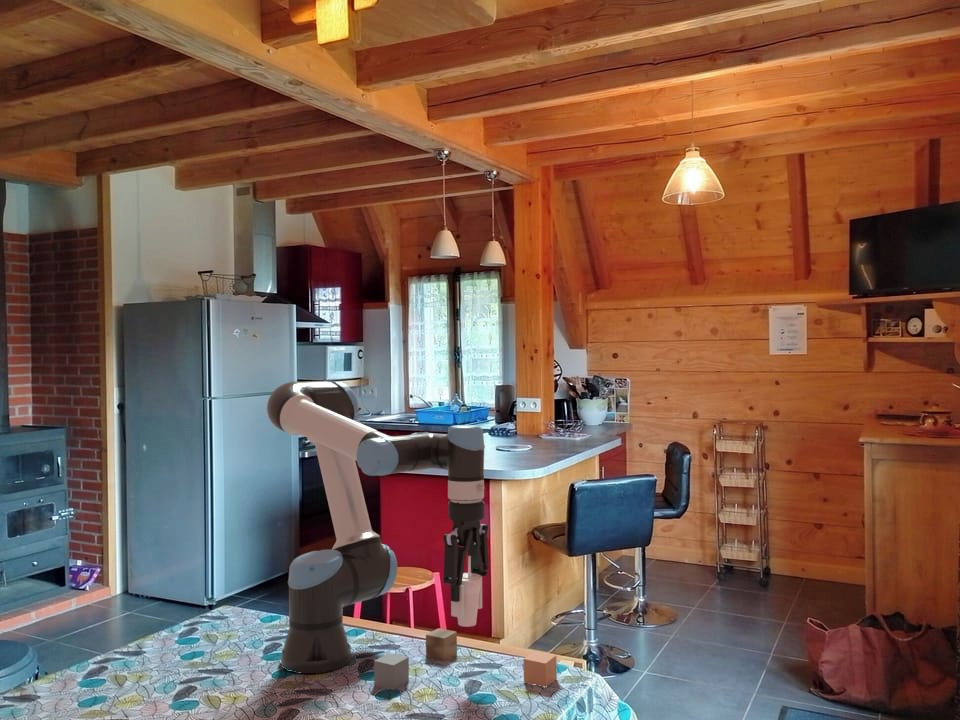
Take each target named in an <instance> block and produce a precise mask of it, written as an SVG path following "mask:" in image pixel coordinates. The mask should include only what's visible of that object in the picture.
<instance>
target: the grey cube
mask: <svg viewBox="0 0 960 720" xmlns="http://www.w3.org/2000/svg"><path fill="white" fill-rule="evenodd" d="M373 661H374V662H373V666H374V667H373V668H374V669H373V671H374V673H373V675H374V676H373V679H374V681H373V682H374V683H373V685H374V686H377V687H381V688H384V689H388V690H392V691H395V690H396V689H398V688H400V687H401V686H403V685H405V684H407V683H408V682H410V674H409V673H410V671H409V670H410V668H409V665H410V664H409V663H410V662H409V661H410V660H409V656H404V655H400V654H396V653H391V652H389V653H387V654H385V655H382V656H381V657H379V658H377V659H375V660H373Z"/></svg>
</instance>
